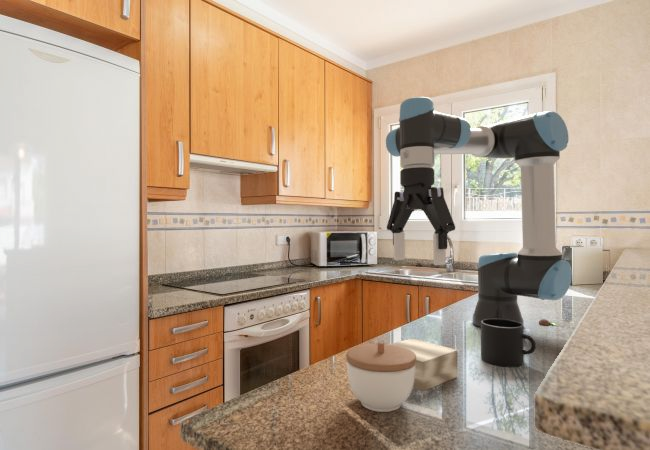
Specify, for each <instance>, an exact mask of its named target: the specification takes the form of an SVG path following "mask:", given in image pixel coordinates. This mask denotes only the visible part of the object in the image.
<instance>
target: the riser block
mask: <svg viewBox="0 0 650 450" xmlns="http://www.w3.org/2000/svg"><path fill="white" fill-rule="evenodd" d="M390 344H391V345H397V346H401V347H404V348H407V349H409V350H411V351H413V352H414V353H415V355H416V364H415V380H414V385H413V389H416V390H419V391H421V392H424V391H426V390H428V389H432V388H433V387H436V386H438V385H441V384H444V383H446V382H449V381H450V380H452V379H455V378H458V349H454V348H452V347H451V348H450V347H448V346H444V345H440V344H437V343H433V342H430V341H429V342H428V341H425V340H421V339H417V338H413V337H412V338H409V339H408V338H407V339H405V340H401V341H397V342H393V343H390Z"/></svg>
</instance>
